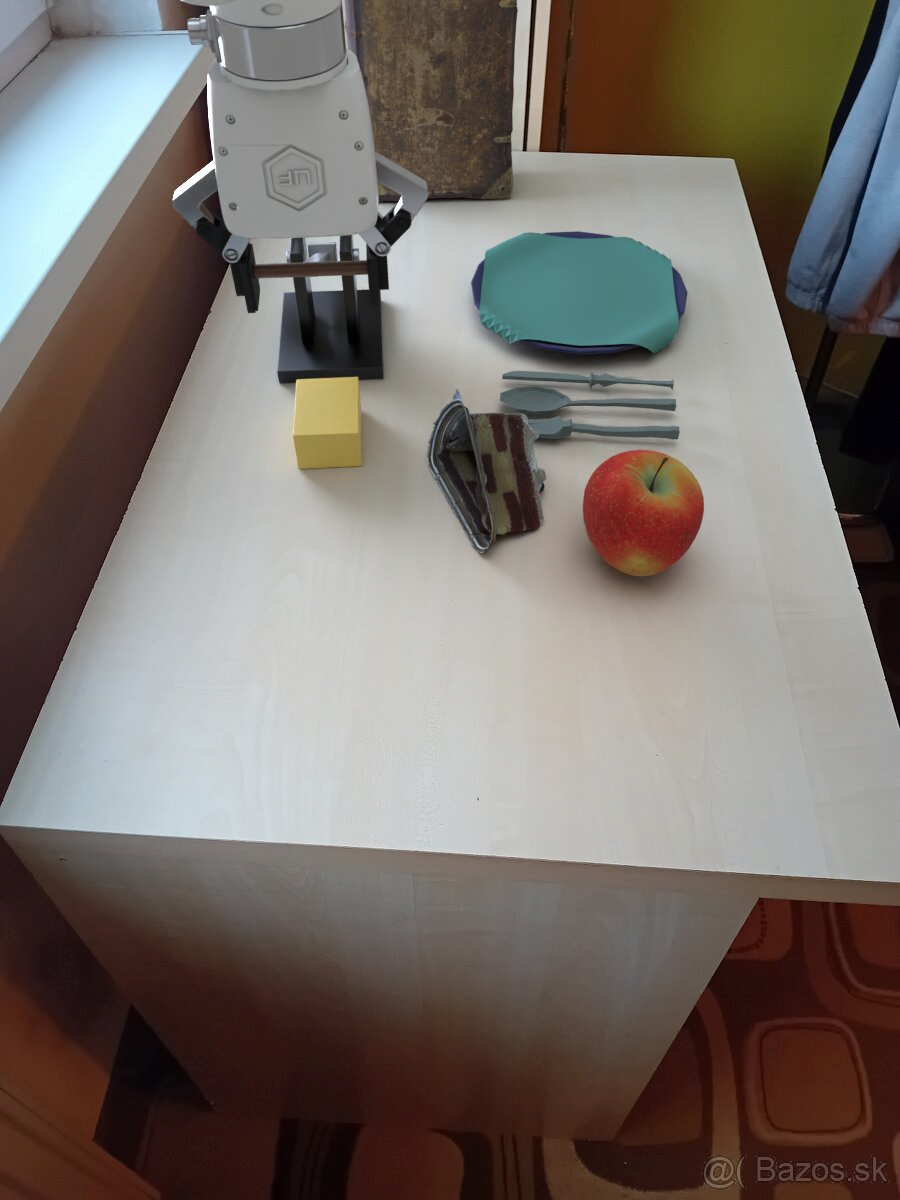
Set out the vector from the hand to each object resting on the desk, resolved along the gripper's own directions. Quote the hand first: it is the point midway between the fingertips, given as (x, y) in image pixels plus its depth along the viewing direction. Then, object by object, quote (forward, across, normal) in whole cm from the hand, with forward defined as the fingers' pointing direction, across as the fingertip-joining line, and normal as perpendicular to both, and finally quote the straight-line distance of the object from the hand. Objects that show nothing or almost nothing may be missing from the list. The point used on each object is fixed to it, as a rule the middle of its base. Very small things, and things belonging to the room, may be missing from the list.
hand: (314, 298), depth 70 cm
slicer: (+12, 0, +12) cm, 17 cm away
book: (+13, +11, +39) cm, 43 cm away
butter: (+12, 0, -1) cm, 12 cm away
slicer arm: (+2, 0, +6) cm, 6 cm away
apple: (+12, +22, -16) cm, 30 cm away
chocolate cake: (+12, +13, -9) cm, 20 cm away
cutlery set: (+12, +22, +11) cm, 28 cm away
